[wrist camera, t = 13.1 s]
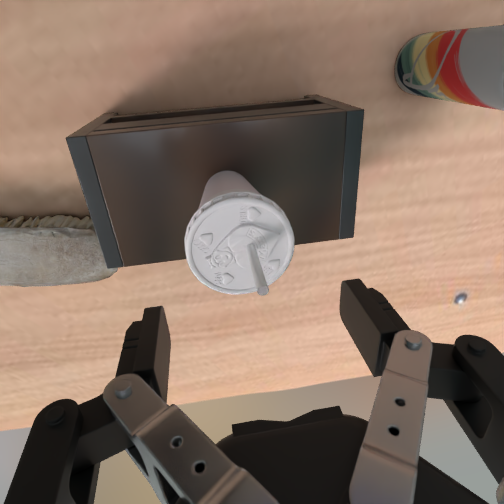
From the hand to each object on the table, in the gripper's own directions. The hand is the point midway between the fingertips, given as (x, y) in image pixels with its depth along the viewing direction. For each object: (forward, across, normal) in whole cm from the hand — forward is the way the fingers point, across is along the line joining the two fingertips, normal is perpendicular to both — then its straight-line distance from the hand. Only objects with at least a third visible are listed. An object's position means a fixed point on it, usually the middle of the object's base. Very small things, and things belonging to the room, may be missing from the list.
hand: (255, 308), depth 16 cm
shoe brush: (+27, +24, +7) cm, 37 cm away
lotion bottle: (+27, -22, -8) cm, 36 cm away
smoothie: (+15, 0, 0) cm, 15 cm away
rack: (+27, 0, 0) cm, 27 cm away
